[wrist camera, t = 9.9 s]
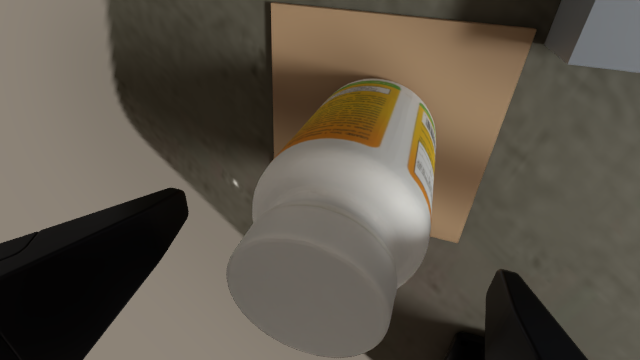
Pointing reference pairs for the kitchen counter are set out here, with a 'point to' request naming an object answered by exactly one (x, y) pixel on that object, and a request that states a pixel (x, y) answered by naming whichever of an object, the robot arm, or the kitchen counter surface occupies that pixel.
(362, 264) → the supplement bottle
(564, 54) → the grey rectangular frame
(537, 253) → the kitchen counter surface
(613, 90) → the kitchen counter surface
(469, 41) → the pad
